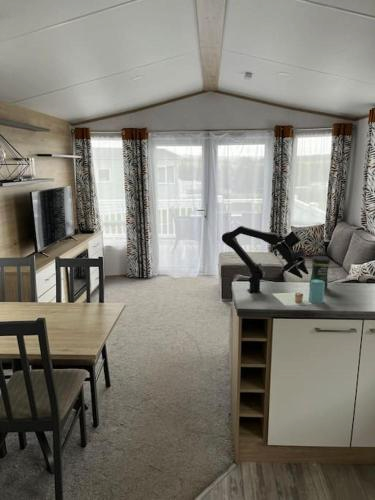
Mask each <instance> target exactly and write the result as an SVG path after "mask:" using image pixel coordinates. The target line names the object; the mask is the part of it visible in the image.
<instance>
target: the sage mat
mask: <svg viewBox="0 0 375 500" xmlns="http://www.w3.org/2000/svg"><path fill="white" fill-rule="evenodd" d="M295 293H296V292H283V293H279V292H278V293H272V296H273V297H275V299H277V300H278V301H279V302H281V303H282V304H283V305H284V306H302V305H303V306H306V305H308V306H309V305H312V302H310V301H309V300H307V299H306V298H304V297H303V298H302V303H297V302H295Z"/></svg>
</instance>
